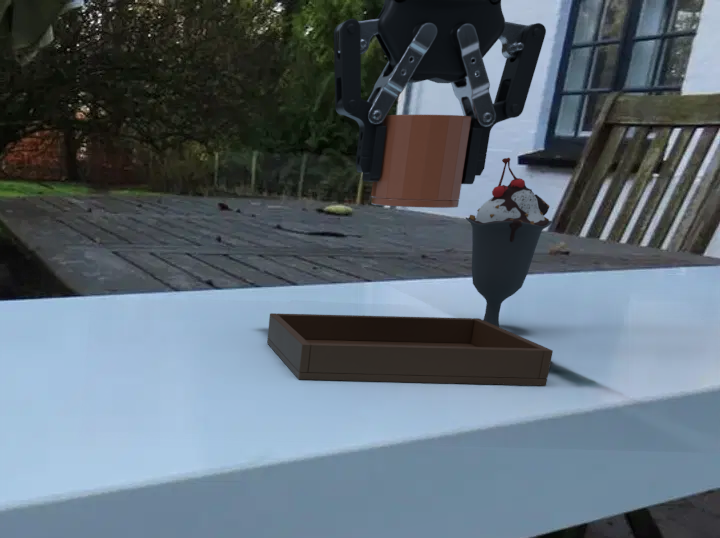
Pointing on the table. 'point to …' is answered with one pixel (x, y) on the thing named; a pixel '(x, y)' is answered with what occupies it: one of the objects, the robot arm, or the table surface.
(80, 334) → the table surface
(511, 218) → the sundae
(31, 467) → the table surface
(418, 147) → the terracotta flower pot
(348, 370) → the tray
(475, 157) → the robot arm
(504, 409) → the table surface
